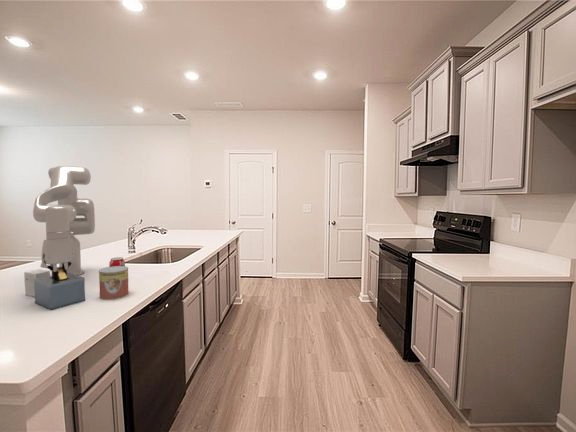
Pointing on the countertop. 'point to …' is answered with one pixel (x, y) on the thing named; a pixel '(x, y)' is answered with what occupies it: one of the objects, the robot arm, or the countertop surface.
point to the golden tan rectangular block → (61, 274)
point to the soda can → (117, 262)
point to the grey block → (59, 291)
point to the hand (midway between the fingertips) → (59, 279)
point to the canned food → (113, 282)
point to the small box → (30, 280)
